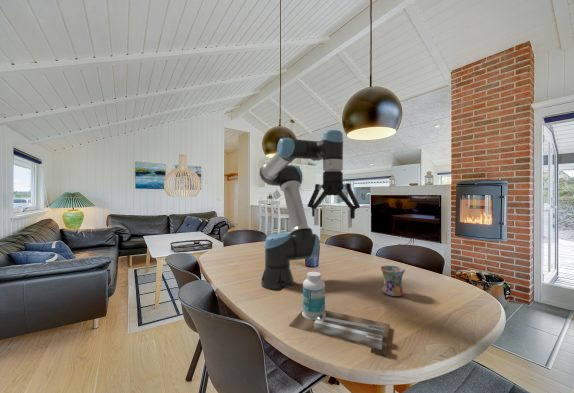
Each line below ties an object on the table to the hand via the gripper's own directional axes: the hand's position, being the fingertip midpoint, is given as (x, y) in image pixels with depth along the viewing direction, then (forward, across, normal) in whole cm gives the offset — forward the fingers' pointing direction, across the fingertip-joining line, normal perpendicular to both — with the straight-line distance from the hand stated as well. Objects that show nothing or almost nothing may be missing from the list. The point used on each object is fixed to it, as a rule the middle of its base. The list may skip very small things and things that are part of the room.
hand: (332, 226), depth 94 cm
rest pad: (+28, -2, -15) cm, 32 cm away
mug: (+30, +19, +22) cm, 42 cm away
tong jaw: (+28, +12, -19) cm, 36 cm away
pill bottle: (+28, -1, -15) cm, 32 cm away
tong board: (+29, +8, -17) cm, 35 cm away
